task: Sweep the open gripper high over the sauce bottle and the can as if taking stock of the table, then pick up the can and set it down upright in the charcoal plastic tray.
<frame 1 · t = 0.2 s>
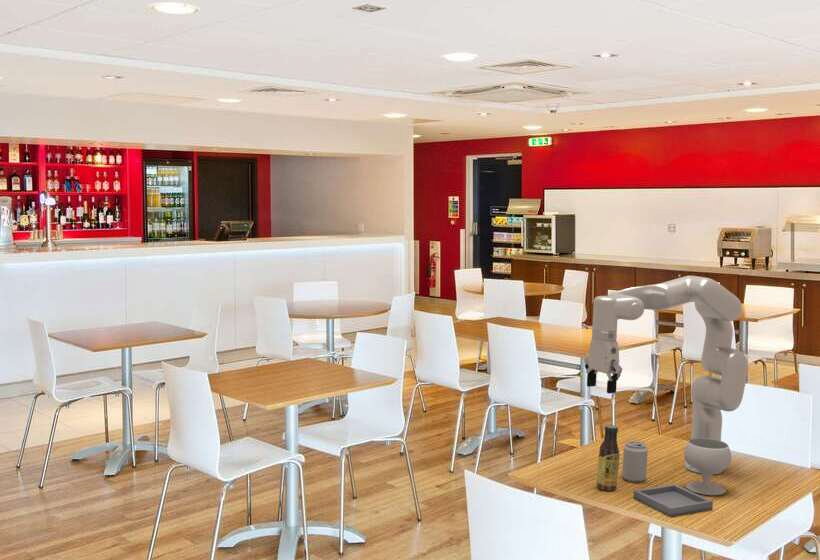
hand: (601, 389, 271), 30 cm above the table, tool pointing down, fingers open, 9 cm apart
tray: (672, 503, 257), on the table
sauce bottle: (606, 489, 269), on the table
chalice: (705, 490, 270), on the table
can: (633, 479, 278), on the table
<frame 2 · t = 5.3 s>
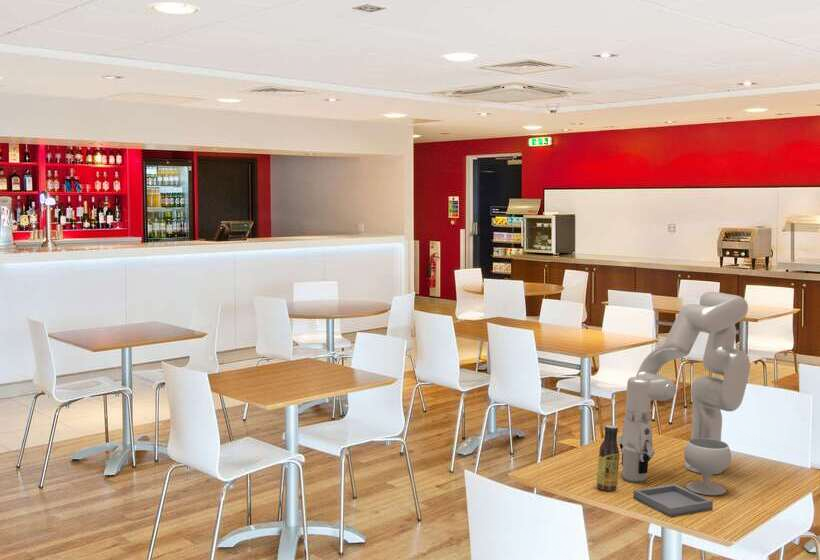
hand: (634, 468, 278), 3 cm above the table, tool pointing down, fingers closed on can, 7 cm apart
can: (633, 479, 278), on the table, touching gripper
everything else where it was.
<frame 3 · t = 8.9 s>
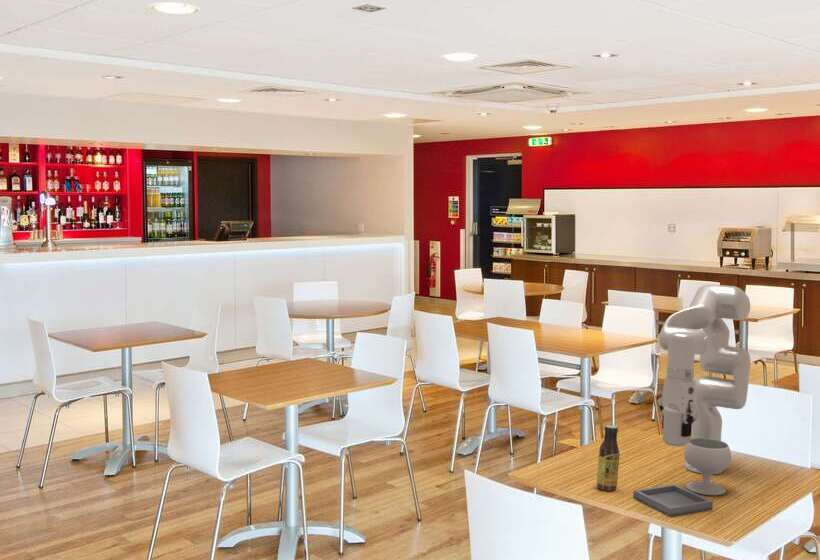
hand: (676, 432, 255), 22 cm above the table, tool pointing down, fingers closed on can, 7 cm apart
can: (675, 444, 255), point 18 cm above the table, touching gripper
everything else where it was.
when the fingers open (6 cm above the table, at t = 12.5 s): can drops 2 cm, resting on tray.
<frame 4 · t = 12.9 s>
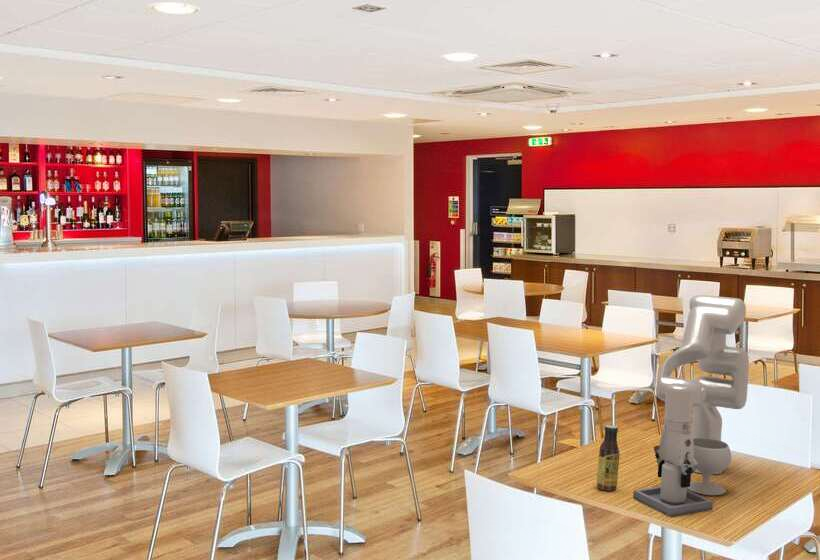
hand: (673, 481, 256), 7 cm above the table, tool pointing down, fingers open, 9 cm apart
can: (672, 501, 257), point 1 cm above the table, touching tray
everything else where it was.
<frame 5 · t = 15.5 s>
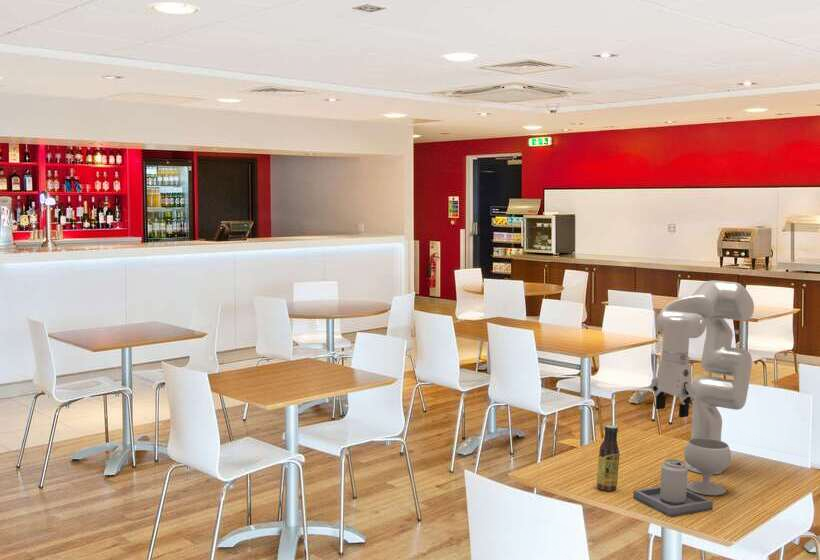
hand: (671, 412, 259), 26 cm above the table, tool pointing down, fingers open, 9 cm apart
nothing on the table moved.
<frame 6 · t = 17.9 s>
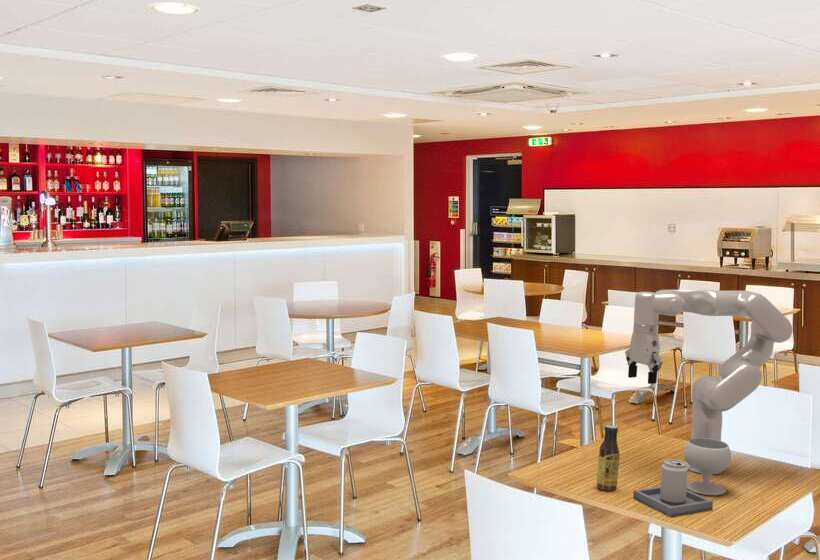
hand: (642, 380, 286), 30 cm above the table, tool pointing down, fingers open, 9 cm apart
nothing on the table moved.
at the end: can inside the target area on the tray (0.4 cm from its centre), point 0.6 cm above the tray's base; can tilted 0°; the gripper is holding nothing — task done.
